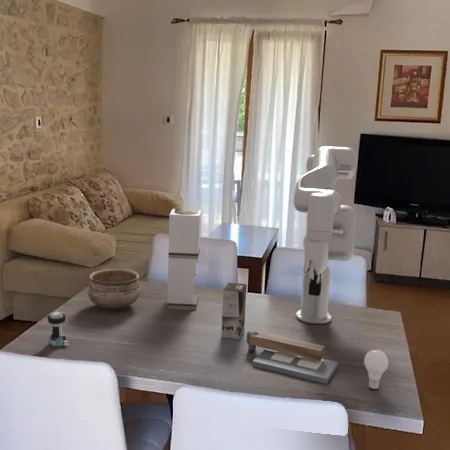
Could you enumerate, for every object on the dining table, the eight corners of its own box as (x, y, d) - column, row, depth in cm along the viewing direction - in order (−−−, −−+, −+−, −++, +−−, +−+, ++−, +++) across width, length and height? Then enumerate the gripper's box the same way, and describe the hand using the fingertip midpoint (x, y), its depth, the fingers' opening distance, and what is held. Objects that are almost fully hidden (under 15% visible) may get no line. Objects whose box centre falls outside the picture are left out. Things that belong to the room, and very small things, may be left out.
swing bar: (249, 338, 179) (250, 329, 178) (324, 355, 169) (324, 346, 168) (244, 343, 175) (244, 334, 174) (320, 360, 165) (321, 351, 165)
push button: (73, 343, 177) (72, 312, 175) (63, 350, 172) (62, 318, 170) (54, 339, 179) (54, 309, 177) (44, 346, 174) (43, 315, 172)
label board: (267, 350, 178) (267, 345, 177) (337, 367, 169) (338, 361, 168) (252, 365, 167) (252, 359, 167) (326, 383, 158) (326, 377, 158)
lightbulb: (358, 382, 159) (361, 345, 157) (380, 382, 160) (384, 345, 158) (365, 394, 153) (369, 355, 151) (388, 394, 154) (393, 355, 151)
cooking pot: (110, 293, 223) (110, 263, 221) (153, 301, 217) (154, 270, 214) (71, 314, 201) (71, 280, 198) (118, 323, 194) (118, 289, 191)
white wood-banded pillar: (196, 309, 210) (199, 215, 203) (167, 308, 210) (169, 214, 203) (198, 299, 221) (201, 210, 214) (170, 298, 222) (172, 208, 214)
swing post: (249, 349, 178) (250, 341, 178) (256, 350, 177) (257, 342, 177) (246, 352, 176) (247, 343, 176) (254, 353, 175) (254, 345, 175)
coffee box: (240, 339, 185) (242, 292, 182) (220, 337, 186) (222, 289, 183) (244, 329, 194) (247, 283, 191) (226, 327, 195) (228, 281, 192)
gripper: (314, 228, 178) (310, 285, 182) (298, 238, 164) (294, 299, 168) (338, 232, 175) (333, 289, 178) (324, 241, 161) (319, 304, 165)
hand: (314, 294), depth 173 cm, fingers closed
